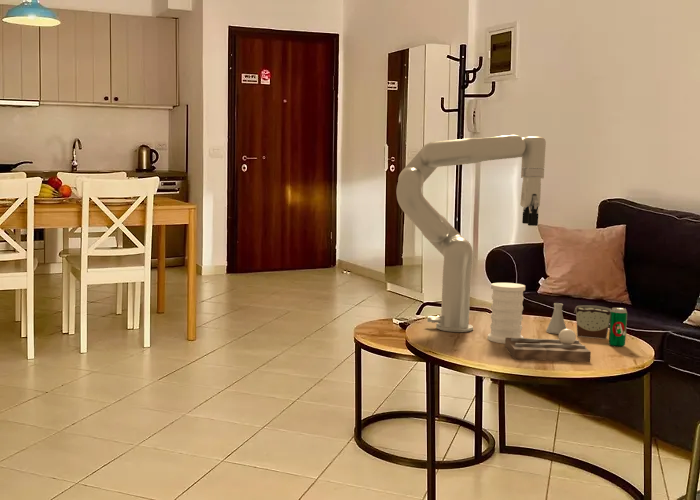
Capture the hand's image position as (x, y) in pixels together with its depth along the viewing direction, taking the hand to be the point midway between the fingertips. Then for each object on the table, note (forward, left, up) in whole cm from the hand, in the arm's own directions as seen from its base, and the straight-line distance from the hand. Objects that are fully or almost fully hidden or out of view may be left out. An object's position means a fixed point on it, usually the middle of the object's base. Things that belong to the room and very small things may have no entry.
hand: (529, 224), depth 272 cm
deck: (0, -34, -37) cm, 50 cm away
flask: (+11, 0, -37) cm, 39 cm away
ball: (+6, -34, -31) cm, 47 cm away
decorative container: (-9, -15, -37) cm, 41 cm away
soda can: (+26, -18, -37) cm, 49 cm away
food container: (+22, -4, -37) cm, 43 cm away
